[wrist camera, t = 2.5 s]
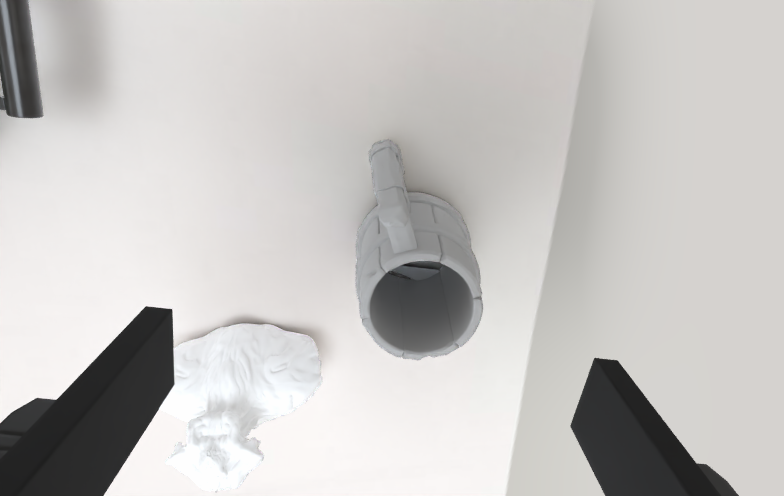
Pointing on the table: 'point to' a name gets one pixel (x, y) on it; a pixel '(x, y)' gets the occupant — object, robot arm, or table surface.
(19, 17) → the drawer
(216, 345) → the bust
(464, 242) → the mug
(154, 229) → the table surface
